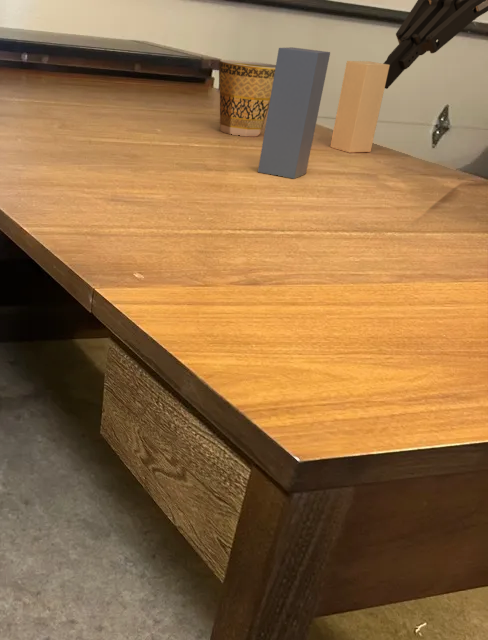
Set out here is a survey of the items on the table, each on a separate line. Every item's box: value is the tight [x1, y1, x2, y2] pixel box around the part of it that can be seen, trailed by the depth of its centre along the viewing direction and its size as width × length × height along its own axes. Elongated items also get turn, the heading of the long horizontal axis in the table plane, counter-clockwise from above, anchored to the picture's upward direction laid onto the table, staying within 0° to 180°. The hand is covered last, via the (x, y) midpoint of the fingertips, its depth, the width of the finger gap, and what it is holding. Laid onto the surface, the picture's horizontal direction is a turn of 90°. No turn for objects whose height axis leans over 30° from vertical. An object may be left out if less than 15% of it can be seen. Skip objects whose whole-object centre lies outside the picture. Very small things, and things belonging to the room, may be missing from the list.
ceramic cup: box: [218, 59, 276, 137], centre depth 133 cm, size 13×10×10 cm
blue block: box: [257, 47, 331, 180], centre depth 103 cm, size 5×5×14 cm
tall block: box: [329, 60, 390, 154], centre depth 126 cm, size 4×4×12 cm
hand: (381, 80), depth 126 cm, fingers closed
